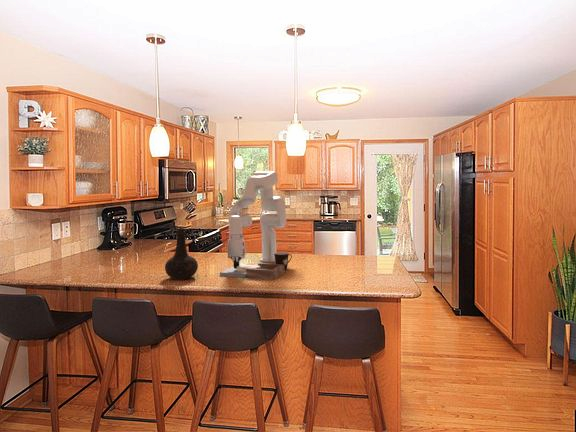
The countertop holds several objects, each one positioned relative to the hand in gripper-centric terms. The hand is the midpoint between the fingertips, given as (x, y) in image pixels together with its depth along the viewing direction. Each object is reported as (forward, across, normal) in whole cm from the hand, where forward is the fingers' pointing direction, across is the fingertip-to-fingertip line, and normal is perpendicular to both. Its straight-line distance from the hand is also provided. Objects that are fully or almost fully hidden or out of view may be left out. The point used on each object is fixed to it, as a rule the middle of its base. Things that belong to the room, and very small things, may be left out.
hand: (236, 268), depth 263 cm
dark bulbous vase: (+3, +24, +20) cm, 31 cm away
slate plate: (+3, -2, 0) cm, 4 cm away
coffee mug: (+3, -23, -17) cm, 29 cm away
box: (+3, -18, 0) cm, 19 cm away
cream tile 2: (+1, -11, 0) cm, 11 cm away
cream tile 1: (+1, -5, 0) cm, 5 cm away
